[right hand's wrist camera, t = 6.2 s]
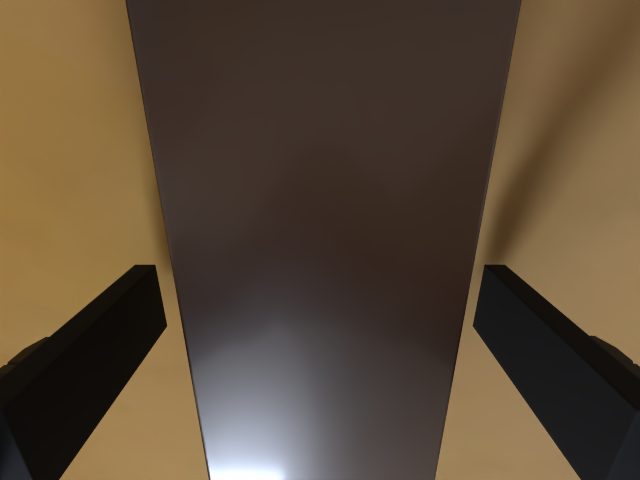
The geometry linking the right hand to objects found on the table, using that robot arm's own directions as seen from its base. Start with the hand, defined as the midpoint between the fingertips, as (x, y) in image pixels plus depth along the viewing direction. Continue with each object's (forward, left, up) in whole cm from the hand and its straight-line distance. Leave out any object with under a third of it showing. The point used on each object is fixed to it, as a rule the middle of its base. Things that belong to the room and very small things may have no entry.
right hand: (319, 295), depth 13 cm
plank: (0, -10, -1) cm, 11 cm away
